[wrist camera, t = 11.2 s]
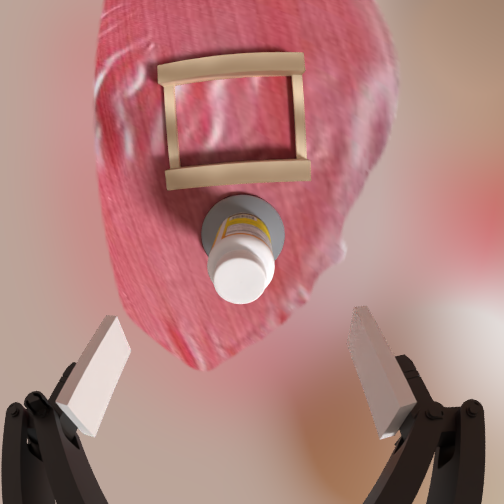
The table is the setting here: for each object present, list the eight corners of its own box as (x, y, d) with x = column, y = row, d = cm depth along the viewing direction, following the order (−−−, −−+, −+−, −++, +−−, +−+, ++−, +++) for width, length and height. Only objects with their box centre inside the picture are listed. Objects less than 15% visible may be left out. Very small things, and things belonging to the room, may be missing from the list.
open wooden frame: (164, 70, 23) (157, 65, 21) (299, 59, 23) (303, 52, 20) (173, 186, 28) (167, 190, 26) (306, 177, 28) (310, 180, 26)
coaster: (197, 197, 29) (196, 198, 28) (282, 192, 28) (283, 193, 28) (207, 273, 32) (206, 275, 32) (284, 269, 32) (285, 271, 31)
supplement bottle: (239, 268, 31) (233, 324, 22) (207, 231, 30) (186, 275, 20) (280, 241, 30) (291, 289, 20) (249, 200, 28) (246, 231, 19)
